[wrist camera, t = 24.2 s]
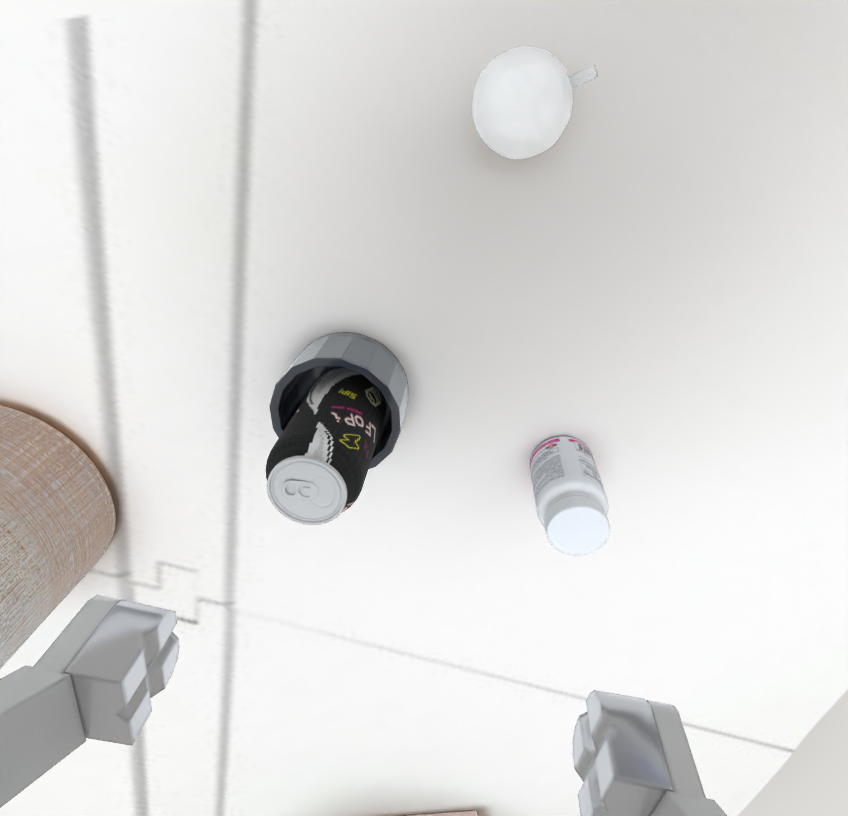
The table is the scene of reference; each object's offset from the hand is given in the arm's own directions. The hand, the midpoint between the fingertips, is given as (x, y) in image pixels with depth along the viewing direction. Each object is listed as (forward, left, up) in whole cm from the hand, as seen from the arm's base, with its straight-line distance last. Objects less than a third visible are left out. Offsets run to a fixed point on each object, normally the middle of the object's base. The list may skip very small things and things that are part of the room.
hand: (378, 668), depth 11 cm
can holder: (+8, -8, -30) cm, 32 cm away
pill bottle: (+14, +8, -31) cm, 35 cm away
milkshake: (-10, +4, -31) cm, 32 cm away
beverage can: (+9, -8, -30) cm, 32 cm away
